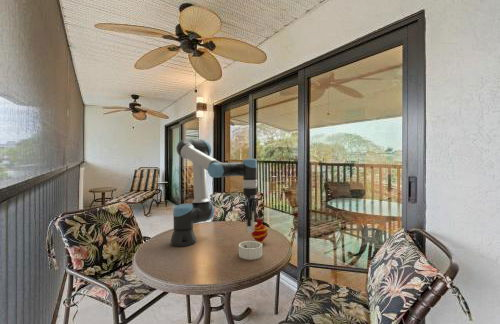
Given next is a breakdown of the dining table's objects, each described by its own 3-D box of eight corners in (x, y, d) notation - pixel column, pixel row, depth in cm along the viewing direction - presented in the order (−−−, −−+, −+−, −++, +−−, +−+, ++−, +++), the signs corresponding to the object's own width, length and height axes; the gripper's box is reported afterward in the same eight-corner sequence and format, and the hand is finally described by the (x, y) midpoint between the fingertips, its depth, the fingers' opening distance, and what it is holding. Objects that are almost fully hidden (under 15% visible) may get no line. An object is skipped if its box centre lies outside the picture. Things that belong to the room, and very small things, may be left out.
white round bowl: (234, 257, 134) (234, 246, 134) (244, 249, 145) (244, 239, 145) (256, 261, 129) (256, 250, 129) (265, 252, 140) (265, 242, 140)
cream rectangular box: (246, 231, 137) (246, 211, 137) (248, 230, 138) (248, 210, 138) (252, 232, 135) (252, 211, 135) (254, 231, 137) (254, 211, 137)
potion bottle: (266, 245, 151) (266, 220, 151) (249, 244, 154) (249, 220, 153) (268, 240, 162) (268, 216, 161) (252, 239, 164) (252, 216, 164)
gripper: (251, 189, 128) (251, 235, 128) (261, 186, 142) (262, 228, 142) (237, 188, 131) (238, 234, 131) (249, 185, 145) (250, 227, 145)
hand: (250, 231), depth 137 cm, fingers closed on cream rectangular box, 2 cm apart
